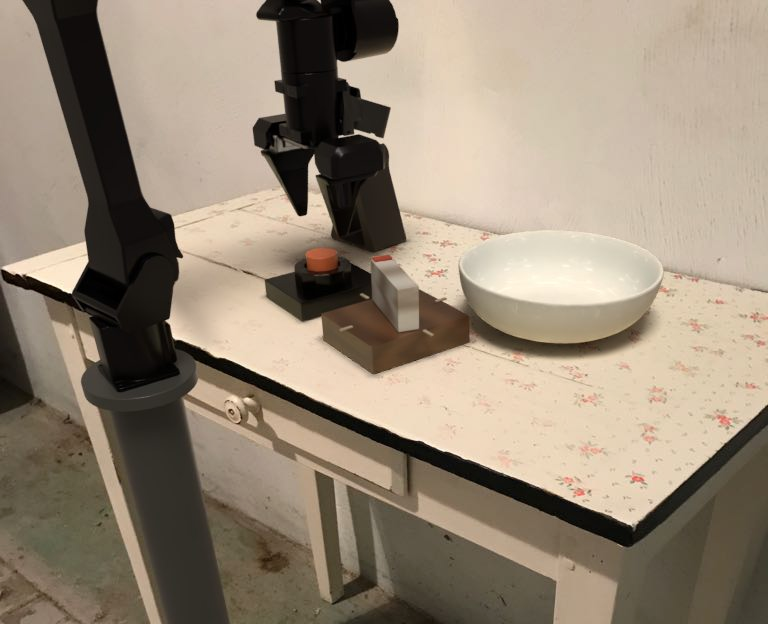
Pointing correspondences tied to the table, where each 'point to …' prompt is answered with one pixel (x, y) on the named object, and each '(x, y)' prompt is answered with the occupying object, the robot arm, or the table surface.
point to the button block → (319, 289)
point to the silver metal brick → (395, 293)
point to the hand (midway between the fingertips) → (321, 225)
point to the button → (321, 259)
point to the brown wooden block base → (394, 333)
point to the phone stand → (375, 214)
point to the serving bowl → (559, 284)
